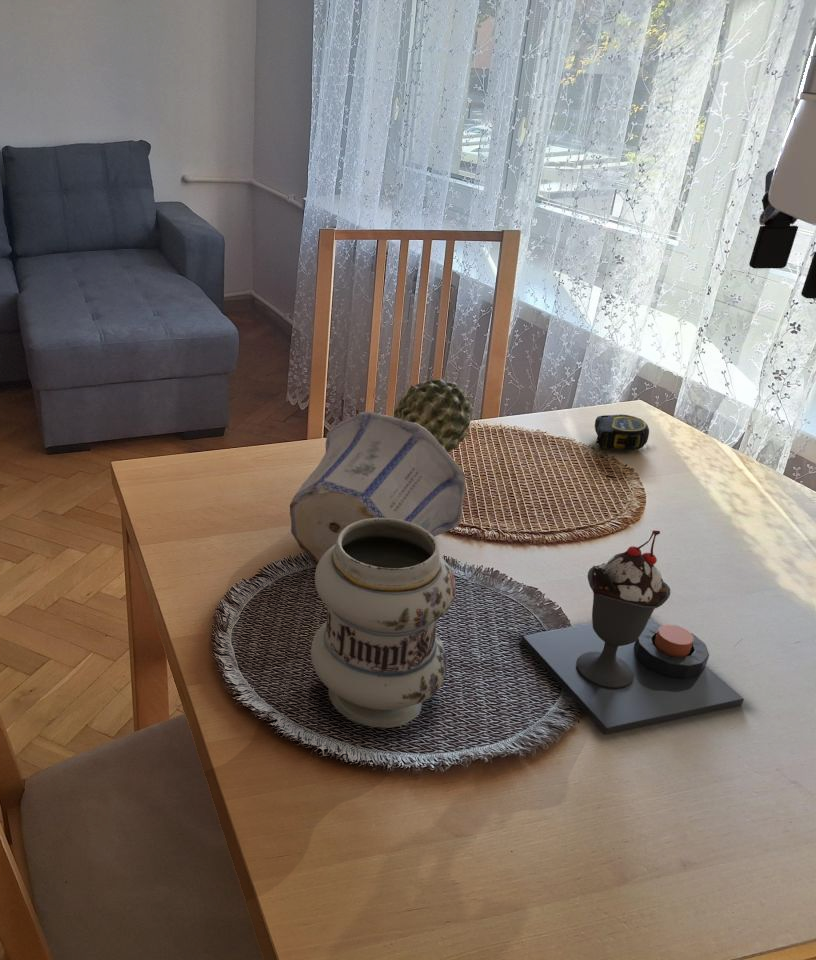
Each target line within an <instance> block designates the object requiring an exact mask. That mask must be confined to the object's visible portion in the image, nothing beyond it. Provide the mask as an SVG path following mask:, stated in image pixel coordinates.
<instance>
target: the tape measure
mask: <svg viewBox="0 0 816 960" xmlns="http://www.w3.org/2000/svg"><path fill="white" fill-rule="evenodd" d="M594 431H595V434H596V435H597V436H596V442H595V443H596V444H597V445H598V447H599V448H600V449H602V450H610V449H612V450H616V451H621V452H634V451H638V450H640V449H643V448H644V447H645V445H646V444H647V443H648V440H649V437H650V429H649V426H648V424H647V422H646V421H644V419H642V418H639V417H637V416H633V415H628V414H607V415H606V414H605V415H598V416H597V417H596V418H595V420H594Z"/></svg>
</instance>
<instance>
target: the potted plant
mask: <svg viewBox="0 0 816 960" xmlns="http://www.w3.org/2000/svg"><path fill="white" fill-rule="evenodd" d="M472 409H473V405H472V402H471V401H470V399H469V398H468V396H467V394H466V392H465V391H464V389H463V388H460V387H458V386H457V383H456V382H455V381H450V380H447V381H445V380H444V379H443V378H436V379H431V380H430V379H428V380H425V381H422V382H420V383H417V384H415V385H414V384H410V387H409V389H408V390H407V393H406V395H404V396H403V397H401V399H400V401H399V402H398V405H397V407H396V409H395V410H394V411H393V416H390V415H385V414H381V413H377V412H374V411H361V412H359V413H357V414H356V415H353V416H351V417H349V418H347V419H344V420H342V421H341V422H340V423H338V424H335V425H334V426H332V428H330V430H329V431H328V432H327V433H326V439H325V444H324V445H325V453H324V455H323V457H322V459H321V461H320V462H319V463H318V465H317V466H316V467H315V469H314V470H313V471H312V473H311V474H309V476H308V478H307V479H306V480H305V481H304V482H303V484H301V486H300V487H299V489H298V491H297V492H296V493H295V495H294V496H293V497H292V499H291V502H290V504H289V517H290V533H291V535H292V536H293V538H294V540H295V541H296V543H297V544H298V546H299V548H300V549H302V550H303V551H304V552H305V553H306V554H307V555H308V556H309V557H310V558H311V559H312V560H313V561H314V562H315V563H316V564H318V562H319V561H320V559H321V557H322V556H323V555H324V554H325V552H326V551H327V550H329V549H330V548H331V547H332V546H334V545H335V544H336V541H337V538H338V536H339V534H340V533H341V531H342V530H343V529H344V528H346V527H347V526H348V525H350V524H352V523H354V522H357V521H360V520H364V519H370V518H393V519H400V520H404V521H407V522H410V523H413V524H415V525H418V526H420V527H422V528H423V529H425V530H426V531H428V532H429V533H430V534H431V535H432V536H433V537H434V538H436V537H437V536H439V535H442V534H444V533H447V532H448V531H451V530H453V529H455V528H457V527H458V526H459V525H460V524H461V522H462V519H463V506H464V499H465V494H466V493H465V492H466V477H467V476H466V474H465V472H464V470H462V468H461V467H460V465H459V464H458V463H457V462H456V461H455V460H454V458H453V457H452V456H451V455H450V452H451V451H453V450H455V449H458V448H459V446H460V444H461V443H462V442H463V441H464V440H465V438H466V437H467V435H468V429H469V427H470V425H471V422H472V419H471V414H470V413H471V411H472Z"/></svg>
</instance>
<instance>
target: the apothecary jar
mask: <svg viewBox="0 0 816 960" xmlns="http://www.w3.org/2000/svg"><path fill="white" fill-rule="evenodd" d="M314 584H315V589H316V592H317V594H318V596H319V598H320V600H321V601H322V602H323V603H324V605H325V606H326V607H327V608H326V621H325V622H324V623H322V625H321V626H320V627H319V628H318V629H317V630H316V632H315V634H314V636H313V638H312V642H311V647H310V658H311V663H312V666H313V669H314V671H315V673H316V675H317V677H318V679H319V680H320V681H321V683H322V684H324V686H326V687H327V693H328V697H329V699H330V702H331V703H332V705H333V706H334V708H335V709H336V710H337V711H338V712H339V713H340V714H341V715H343V716H344V717H345V718H347V719H349V720H350V721H353V722H355V723H358V724H359V725H360V724H361V725H364V726H367V727H371V728H387V729H388V728H389V729H390V728H398V727H401V726H403V725H405V724H407V723H409V722H411V721H413V720H414V719H416V718H417V717H418V716H419V715H420V713H421V711H422V706H423V702H425V701H427V700H428V699H430V698H431V697H432V696H433V695H435V694H436V693H437V692H438V690H439V689H440V688H441V686H442V685H443V683H444V681H445V679H446V676H447V671H448V656H447V651H446V648H445V646H444V644H443V642H442V640H441V638H440V637H439V636H438V634H437V624H438V623H437V622H438V620H439V619H440V618H441V617H442V616H443V615H445V614H446V612H448V610H449V609H450V608H451V606H452V605H453V602H454V601H455V597H456V592H457V584H456V579H455V575H454V573H453V570H452V569H451V567H450V565H449V564H448V561H446V560H445V558H443V557H442V556H441V554H440V545H439V543H438V541H437V539H436V537H433V536H432V535H431V534H430V533H429V532H428V531H426V530H425V529H423V528H422V527H420V526H418V525H415V524H413V523H410V522H407V521H404V520H400V519H393V518H370V519H364V520H360V521H357V522H354V523H352V524H350V525H348V526H347V527H346V528H344V529H343V530H342V531H341V533H340V534H339V536H338V538H337V541H336V544H335V545H334V546H332V547H331V548H330V549H329V550H327V551H326V552H325V554H324V555H323V556H322V557H321V559H320V561H319V562H318V563H317V565H316V568H315V572H314Z"/></svg>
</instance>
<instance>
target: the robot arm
mask: <svg viewBox="0 0 816 960" xmlns="http://www.w3.org/2000/svg"><path fill="white" fill-rule="evenodd" d="M810 50H811V51H810V56H809V58H808V61H807V64H806V68H805V72H804V73H803V74H804V75H803V79H802V82H801V85H800V88H799V92H798V95H797V99H799V103H798V105H797V106H796V110H795V112H794V114H793V117H792V119H791V122H790V124H789V127H788V130H787V133H786V135H785V137H784V141H783V143H782V146H781V149H780V152H779V155H778V157H777V161H776V165H775V167H774V168H772V169H770V170H769V171H767V173H766V175H765V183H764V195H763V197H762V199H761V204H762V209H763V211H762V212H761V214H760V215H759V218H758V219H759V220H758V222H759V229H758V232H757V235H756V239H755V241H754V245H753V249H752V253H751V256H750V259H749V263H748V266H749V267H750V268H752V269H784V268H785V267H787V265H788V261H789V258H790V256H791V252H792V248H793V245H794V242H795V239H796V236H797V233H798V230H799V226H797V225H794V224H795V223H796V222H797V221H798V220H800V221H802V222H805V223H807V224H809V225H812V226H816V35H815V37H814V40H813V44H812V47H811V49H810ZM800 294H801V295H800V296H802V297H803V298H805V299H808V300H809V299H810V300H811V299H815V300H816V251H814V252H813V255H812V259H811V262H810V265H809V268H808V271H807V274H806V276H805V280H804V283H803V287H802V289H801V293H800Z"/></svg>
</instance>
